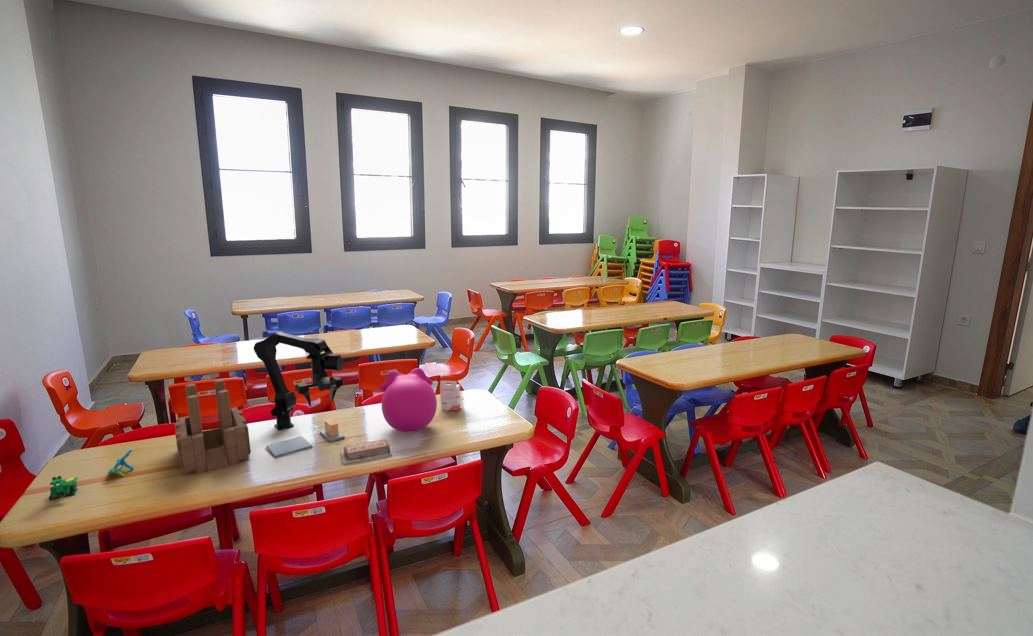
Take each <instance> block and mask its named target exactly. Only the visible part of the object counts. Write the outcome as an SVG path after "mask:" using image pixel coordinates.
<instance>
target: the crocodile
mask: <svg viewBox="0 0 1033 636" xmlns="http://www.w3.org/2000/svg"><path fill="white" fill-rule="evenodd" d="M78 478H79V477H75V476H74V477H71V478H68V479H64V478H63V476H61V475H58V476H53V477H52V479H51V480H52V481H51V482H50V483H49V485H50V488H49V491H50V492H49V494H50V495H49V496H48V500H49V501H54V500H57V499H60V498H61V497H62V495H64V498H67V497H72V495H73V496H76V494H77V492H78V488H77V487H78V483H77V480H78ZM76 491H77V492H76Z"/></svg>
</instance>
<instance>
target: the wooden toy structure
mask: <svg viewBox="0 0 1033 636" xmlns="http://www.w3.org/2000/svg"><path fill="white" fill-rule="evenodd" d="M184 387H185V396H186V397H185V398H186V402H187V410H188V416H183V417H178V418H177V419H178V420H177V422H175V423H174V429H175V439H176V448H177V449H176V450H177V456H178V462H179V468H180V469H179V470H181V471H182V472H184V475H185V476H186V475H190V474H193V473H196V474H200V473H205V472H207V473H208V474H209V473H212V472H216V471H220V470H224V469H225V470H226V469H230V466H233V465H238V464H240V463H239V462H244V461H248V460H249V456H250V454H251V453H252V452H251V451H252V449H251V441H250V433H249V427H248V425H247V418H244V412H243V411H242V410H239V409H238V407H237V406H236V407H231V402H230V401H231V400H230V393H229V390H228V389H226V385H225V379H223V378H222V379H215V380H214V390H215V398H216V407H217V414H218V421H219V427H217V428H213V429H208V430H203V425H202V416H201V409H200V402H199V396H198V393H197V386H196V384H195V383H189V384H186V385H185V386H184ZM216 445H222V446H220V447H214V448H211V449H210V448H209V449H207V450H206V447H207V448H208V447H211V446H216Z"/></svg>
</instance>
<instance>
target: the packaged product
mask: <svg viewBox="0 0 1033 636" xmlns="http://www.w3.org/2000/svg"><path fill="white" fill-rule="evenodd" d="M388 457H392V453H391V445H390V443H389V441H388V439H387V438H385V439H384V438H383V439H378V440H377V439H376V440H371V441H366V442H360V443H353V444H348V445H344V446H343V450H341V451H340V458H341V459H340V460H341V463H342V465H343V466H344V464H345V465H349V464H353V462H354V463H360V462H359V461H361V462H366V461H365V460H367V461H372V460H376V459H382V458H388Z"/></svg>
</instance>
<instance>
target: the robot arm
mask: <svg viewBox="0 0 1033 636" xmlns="http://www.w3.org/2000/svg"><path fill="white" fill-rule="evenodd" d="M279 344H282V345H287V346H291V347H295V348H299V349H302V350H303V351H304V352H305V353H307V354H308V355H307V356H306V357H305V359H306V360H310V364H311V365H310V366H311V371H310V372H311V373H310V374H311V378H312V379H311V383H310V384H307V383H306V382H301V383H296V384H295V386H294V389H295V391H294V390H292V391H290V390H289V389H288V388H287V386H286V382H285V380H284V377H283V374H282V372H281V368H280V367H279V364H278V361H277V350H278V349H277V348H276V347H277V346H278V345H279ZM253 352H254V353H255V354H256V356H257V358H258V359H259V360H261V361H262V362H263V364H264V367H265V369H266V371H267V372H266V373H267V375H268V378H269V380H270V382H271V386H272V388H273V391H274V393H275V394H274V401H273V402H274V404H275V406H274V407H273V408H272V409H271V410H270V414H271V416H272V417H275V420H276V424H274V427H275V428H276V429H277V430H278V431H280V430H284V429H289V428H292V427H294V426H295V425H294V423H292V419H291V412H292V411H294V410H295V407H296V405H297V399H298V398H297V397H296V394H295V392H296V393H298V394H299V395H300V394H301V396H303V397H304V398H305V401H306V402H307V405H308V406H309V407H312V401H311V397H310V396H311V392H310V390H312V389H318V391H321V392H323V391H327V390H329V395H330V402H331V403H333V402H334V400H335V396H336V393H337V392H338V391H337V390H339V389H340V388H341V387H342V386H344V385H345V381H344V379H343V378H341V377H340V376H329V375H328V371H333V372H334V371H335V372H342V370H343V369H344V366H345V360H344V359H343V357H342V356H341V355H342V354H333V353H334V352H333V351H332V349H331V348H330V347H329V345H328V344H327V341H326V340H325V339H324V338H315V337H313V338H307V337H302V336H297V335H294V334H291V333H287V332H285V331H280V330H279V331H275V332H274V333H272V334H271V335H270V336H268V337H267V338H265V339H262V340H260V341H256V342H255V344H254V345H253Z"/></svg>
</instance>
